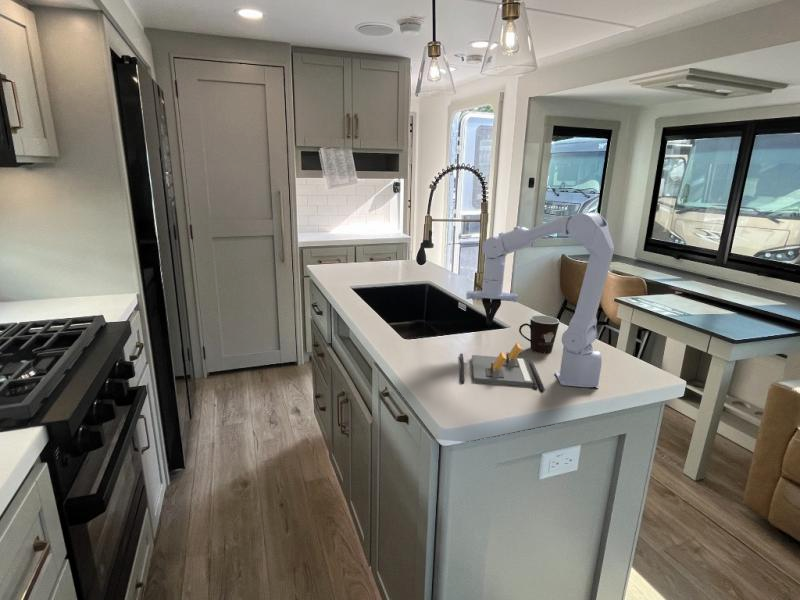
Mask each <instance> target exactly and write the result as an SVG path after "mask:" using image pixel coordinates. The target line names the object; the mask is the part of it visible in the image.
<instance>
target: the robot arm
mask: <svg viewBox="0 0 800 600" xmlns="http://www.w3.org/2000/svg"><path fill="white" fill-rule="evenodd" d="M555 234H562V235H565V236H566V235H570V236H571V238H573V239H574V240H575V241H577V242H578V243H580V244H581V245H583V247H584V248H585V249H586V251H587V253H588V254H589V258H588V261H587V266H586V269H585V272H584V276H583V281H582V284H581V287H580V293H579V296H578V300H577V303H576V308H575V311H574V314H573V316H572V317H571V320H570V321H569V323H568V327H567V329H566V330H565V331H564V332H563V333H562V334H561V335H562V336H561V343H562V355H561V361H560V362H561V363H560V369H559V371H555V372H554V373H555V376H556V378H557V379H558V381H559V383H560V385H561V386H565V387H566V386H568V387H569V386H570V387H581V388H590V387H599V388H600V386H599V382H600V375H601V371H602V370H601V368H602V354H601V352H600V351H599V350H594V348H593V344H592V343H594V342H595V341H596V340H597V337H598V330H597V324H598V319H597V314H598V310H599V307H600V303H601V299H602V295H603V293H604V288H605V284H606V281H607V277H608V275H609V271H610V266H611V263H612V260H613V255H614V252H615V246H614V242H613V239H612V237H611V234H610V230H609V223H608V221H607V220H606V219H605V218H604V217H603V215H601V214H600V213H599V212H595V211H590V212H586V213H585V212H583V213H582V212H581V213H576V214H572V215H567V216H562V217H557V218H555V219H553V220H551V221H548V222H545V223H543V224H540V225H538V226H534V227H532V228H527V227H525V226H520V225H517V226H515V227H513V230H510V231H508V232H505V233H504V232H500V233H498V236H490V237H488V238H487V239H485V240H484V241H483V243H482V246H481V248H482V249H481V250H482V253H483V255H484V267H483V278H482V288H481V289H482V290H477V291H476V290H473V291H472V290H467V291H466V295H465V296H466V300H471V299H473V300H481V302H482V306H483V308H484V312H485V316H486V325H491V326H492V324H493V321H494V319H495V316H496V314H497V312H498V310H499V309H500V307H501V305H502V301H503V302H513V303H517V302H518V296H519V295H518V294H517V293H509V292H503V288H504V287H503V286H504V277H505V276H504V275H505V267H506V256H507V255H508V254H509V255H510V254H512V253H515V252H517V251H522V250H525V249H528V248H530V247H531V246H532V243H533V242H534V241H537V240H539V239H542V238H546V237H550V236H552V235H555Z"/></svg>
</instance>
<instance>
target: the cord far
mask: <svg viewBox="0 0 800 600" xmlns="http://www.w3.org/2000/svg"><path fill="white" fill-rule="evenodd" d="M464 365H465V363H464V354H463V353H461V352H460V354H459V367H460V368H459V369H460V373H459V375H460V383H462V384H464V383H465V381H466V380H465V379H466V378H465V366H464Z"/></svg>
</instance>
